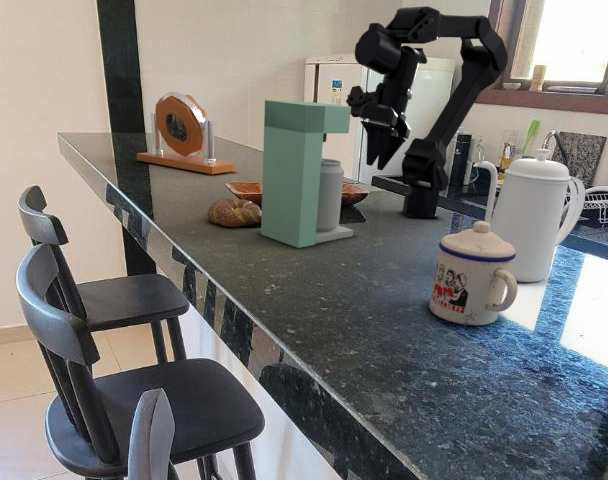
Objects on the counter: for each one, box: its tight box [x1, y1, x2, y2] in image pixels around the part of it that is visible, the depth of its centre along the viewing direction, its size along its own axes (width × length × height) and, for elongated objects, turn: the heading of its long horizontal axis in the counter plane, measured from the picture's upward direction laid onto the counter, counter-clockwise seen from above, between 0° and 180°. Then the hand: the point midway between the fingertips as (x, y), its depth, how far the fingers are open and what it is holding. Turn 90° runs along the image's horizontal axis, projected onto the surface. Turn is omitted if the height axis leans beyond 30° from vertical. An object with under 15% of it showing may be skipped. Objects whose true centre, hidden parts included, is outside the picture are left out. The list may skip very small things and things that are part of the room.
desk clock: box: [136, 91, 236, 176], centre depth 154 cm, size 12×30×20 cm, turn 58°
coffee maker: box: [260, 99, 354, 249], centre depth 93 cm, size 14×10×22 cm
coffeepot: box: [472, 148, 586, 283], centre depth 81 cm, size 11×25×19 cm, turn 117°
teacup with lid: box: [429, 220, 519, 326], centre depth 65 cm, size 12×9×12 cm
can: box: [316, 157, 345, 232], centre depth 96 cm, size 8×8×12 cm
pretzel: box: [207, 197, 262, 228], centre depth 103 cm, size 12×11×4 cm
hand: (374, 167), depth 105 cm, fingers open, 9 cm apart
